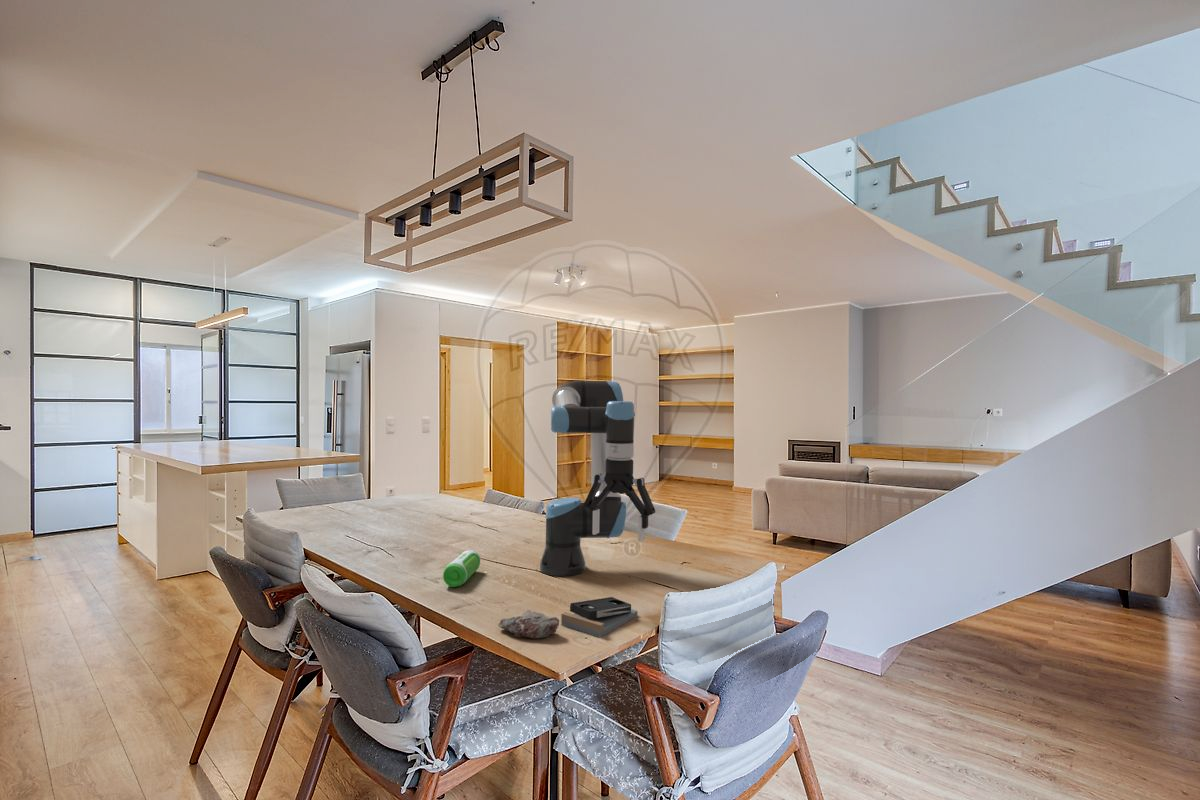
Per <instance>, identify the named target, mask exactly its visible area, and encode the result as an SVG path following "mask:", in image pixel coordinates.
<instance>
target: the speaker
mask: <svg viewBox="0 0 1200 800" xmlns="http://www.w3.org/2000/svg"><path fill="white" fill-rule="evenodd" d="M480 565H481V557H480V555H479V553H478V552H476V551H475V550H472V549H471V550H470V549H469V550H465V551H463V552H462V553H460V554H459V555H458V556H457V557H456V558H455V559H454V560H452V561H451V562H450V563H448V564H447V566H446V567H445V568H444V570H443V574H442V577H443V581H444V583H445V584H446V585H447V586H449V587H452V588H457V587H460V586H462V585H464V584H466V582H467V581H468V580H470V578H471V577H472V576H473V574H474V573H475V572H476V571H477V570H478V569H479V567H480Z"/></svg>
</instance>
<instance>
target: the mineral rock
mask: <svg viewBox="0 0 1200 800" xmlns="http://www.w3.org/2000/svg"><path fill="white" fill-rule="evenodd" d="M559 624H560V619H559V618H557V617H556V616H555V617H554V616H553V617H549V616H547V615H546V614H544V613H542V612H537V611H531V610H529V609H527V610H526V611H525V612H523V613H522V614H521V615H518V616H515V617H514V616H513V617H510V618H509V617H508V618H502V619H500V621H499V623H498V627H499V628H501V629H503V630H504V631H508V632H510V633H514V636H515V637H516V638H524V637H525V638H530V639H531V638H532V639H534V640H535V639H536V640H537V639H541V638H547V637H549V636H550V635H555V634H556V632H557V630H558V627H559Z"/></svg>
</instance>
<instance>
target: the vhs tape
mask: <svg viewBox="0 0 1200 800" xmlns="http://www.w3.org/2000/svg"><path fill="white" fill-rule="evenodd" d="M569 606H570V607H569V612H571V613H572V614H578V615H580V616H582V617H584V618H587V619H589V620H591V619H596V618H602V617H607V616H613V615H618V614H624V613H629V612H631V609H632V604H631V603H628V602H626V601H623V600H620V599H618V598H616V597H613V596H609V597H603V598H602V597H601V598H598V599H597V598H596V599H590V600H584V601H576V602H571V603H570V605H569Z"/></svg>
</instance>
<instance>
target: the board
mask: <svg viewBox="0 0 1200 800" xmlns="http://www.w3.org/2000/svg"><path fill="white" fill-rule="evenodd" d="M637 616H638V610H637V609H636V610H635V609H632V608H631V612H629V613H624V614H618V615H613V616H607V617H602V618H596V619H591V620H589V619H587V618H584V617H582V616H580V615H578V614H575V613H569V612H568V611H565V612H562V613H561V616H560V617H561V619H560V621H561V623H560V625H561V626H563V627H567V628H570V629H572V630H576V631H579V632H583V633H587V634H590V635H593V636H595V637H599V638H601V637H603V636H605V635H606V634H608V633H611V631H613V630H615V629H617V628H618V627H621V626H622V625H624V624H625V623H627V622H629V621H630V620H632V619H634V618H636V617H637Z"/></svg>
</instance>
